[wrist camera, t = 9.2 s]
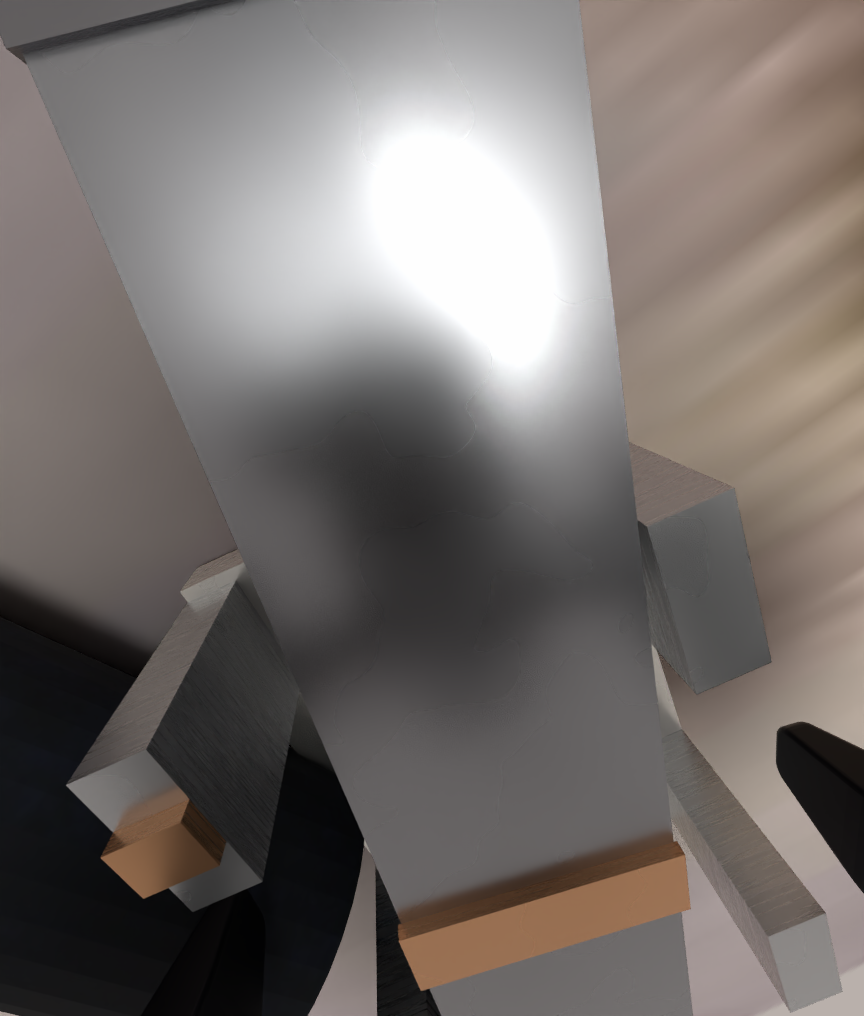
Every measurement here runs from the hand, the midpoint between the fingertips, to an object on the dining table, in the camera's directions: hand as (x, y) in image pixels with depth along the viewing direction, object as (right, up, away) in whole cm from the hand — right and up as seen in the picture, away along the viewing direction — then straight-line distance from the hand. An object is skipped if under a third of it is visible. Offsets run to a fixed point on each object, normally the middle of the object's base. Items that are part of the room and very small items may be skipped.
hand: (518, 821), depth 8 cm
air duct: (0, 0, +3) cm, 3 cm away
